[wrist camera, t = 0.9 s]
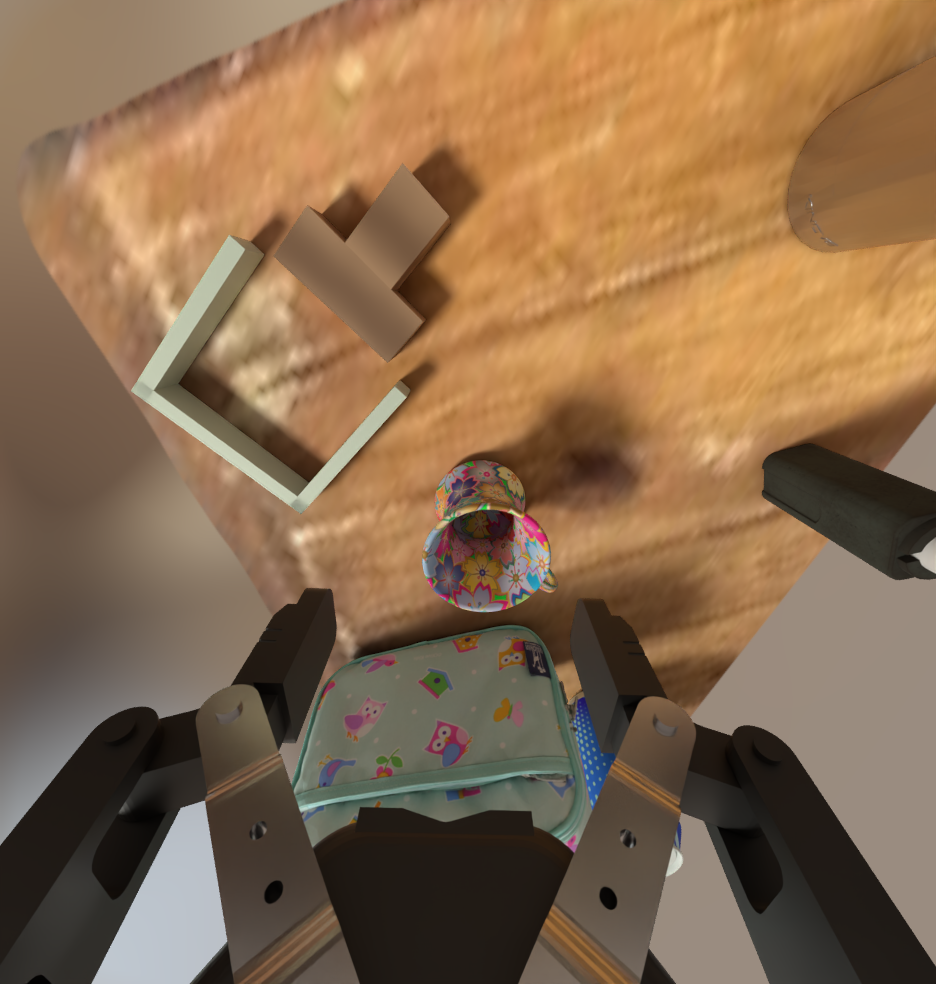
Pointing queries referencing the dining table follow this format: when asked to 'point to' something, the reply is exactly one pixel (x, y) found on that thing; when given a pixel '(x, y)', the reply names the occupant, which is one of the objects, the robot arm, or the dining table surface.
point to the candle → (857, 508)
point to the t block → (369, 261)
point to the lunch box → (446, 736)
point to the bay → (208, 425)
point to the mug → (485, 541)
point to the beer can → (605, 768)
